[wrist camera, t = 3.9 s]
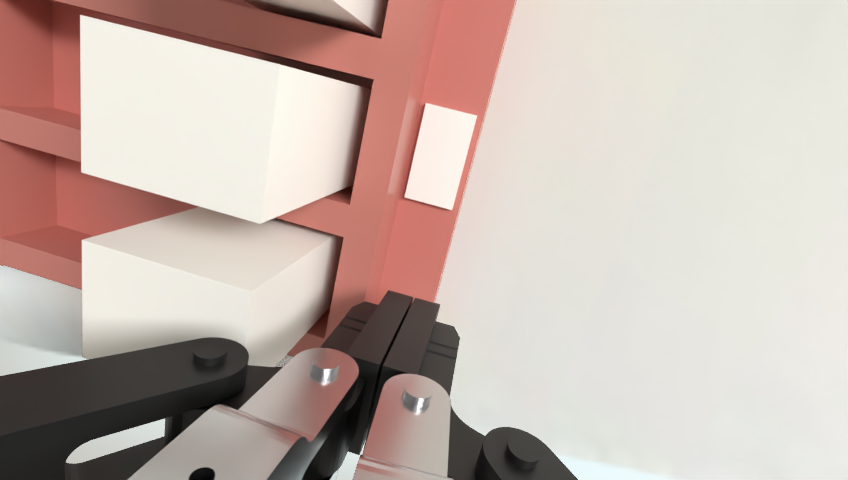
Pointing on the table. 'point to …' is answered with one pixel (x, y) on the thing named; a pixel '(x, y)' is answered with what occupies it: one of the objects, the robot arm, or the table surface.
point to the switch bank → (286, 45)
